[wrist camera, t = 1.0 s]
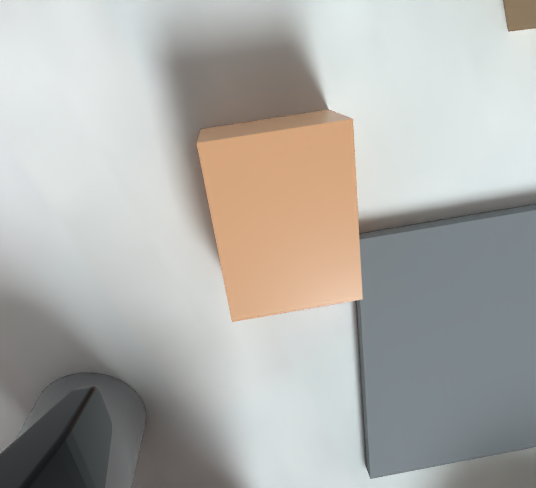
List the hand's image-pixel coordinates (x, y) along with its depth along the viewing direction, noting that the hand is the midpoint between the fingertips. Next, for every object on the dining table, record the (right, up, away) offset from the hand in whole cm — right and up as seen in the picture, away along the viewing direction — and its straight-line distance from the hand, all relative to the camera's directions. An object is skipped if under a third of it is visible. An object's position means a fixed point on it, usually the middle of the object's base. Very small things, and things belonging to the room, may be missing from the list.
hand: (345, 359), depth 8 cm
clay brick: (-1, +4, +9) cm, 10 cm away
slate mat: (+10, -3, +13) cm, 17 cm away
